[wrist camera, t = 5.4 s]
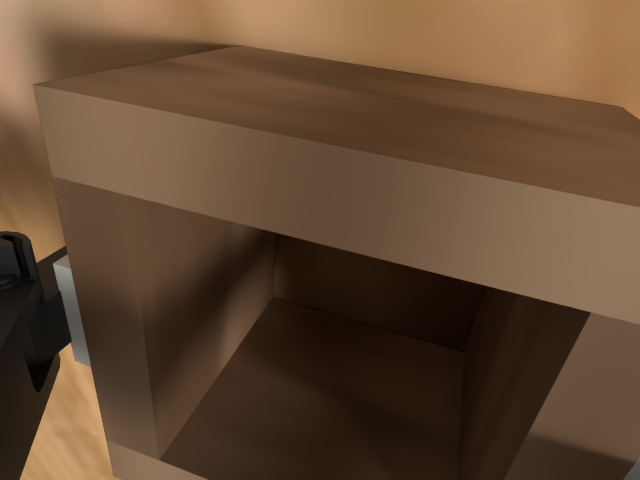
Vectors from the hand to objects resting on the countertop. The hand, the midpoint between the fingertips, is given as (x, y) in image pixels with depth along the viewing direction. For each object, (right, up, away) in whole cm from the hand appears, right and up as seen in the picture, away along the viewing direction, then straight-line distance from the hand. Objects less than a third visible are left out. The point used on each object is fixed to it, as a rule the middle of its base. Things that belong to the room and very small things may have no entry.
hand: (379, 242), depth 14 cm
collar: (0, 0, 0) cm, 0 cm away
